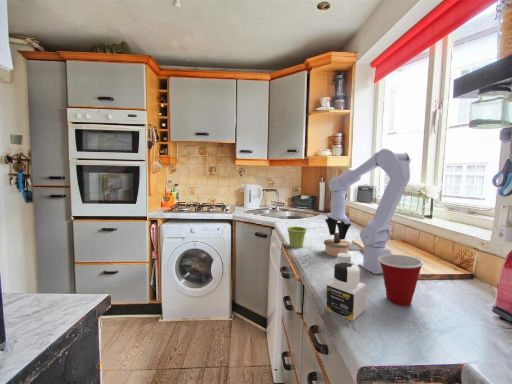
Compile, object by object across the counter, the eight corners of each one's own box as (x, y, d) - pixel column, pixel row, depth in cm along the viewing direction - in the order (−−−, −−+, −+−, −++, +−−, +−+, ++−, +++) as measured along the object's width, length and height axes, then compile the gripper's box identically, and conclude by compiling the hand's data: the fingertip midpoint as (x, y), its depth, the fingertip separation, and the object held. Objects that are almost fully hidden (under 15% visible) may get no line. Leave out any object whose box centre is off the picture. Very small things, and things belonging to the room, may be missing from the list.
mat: (366, 250, 113) (366, 249, 113) (343, 252, 110) (343, 251, 110) (350, 243, 124) (350, 242, 124) (329, 245, 122) (329, 244, 121)
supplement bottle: (348, 282, 80) (349, 251, 79) (355, 291, 75) (356, 257, 74) (331, 282, 80) (332, 251, 79) (336, 290, 75) (337, 257, 74)
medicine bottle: (325, 310, 64) (327, 265, 63) (339, 300, 69) (340, 258, 68) (352, 322, 59) (354, 273, 58) (364, 310, 64) (366, 265, 63)
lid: (356, 246, 104) (356, 235, 103) (333, 249, 101) (333, 237, 101) (340, 240, 114) (340, 229, 114) (319, 241, 111) (319, 231, 111)
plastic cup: (381, 287, 77) (382, 249, 76) (423, 299, 70) (425, 257, 69) (371, 301, 68) (373, 259, 67) (418, 316, 61) (420, 269, 60)
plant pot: (309, 246, 120) (310, 228, 119) (300, 250, 113) (300, 232, 112) (293, 242, 126) (293, 225, 125) (282, 246, 119) (283, 229, 118)
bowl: (351, 256, 105) (352, 246, 104) (332, 258, 103) (333, 248, 102) (339, 250, 113) (340, 240, 113) (322, 251, 111) (322, 242, 111)
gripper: (356, 207, 100) (355, 240, 101) (336, 203, 114) (336, 232, 115) (341, 208, 99) (340, 241, 100) (323, 204, 113) (322, 233, 114)
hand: (337, 237), depth 107 cm, fingers open, 7 cm apart
